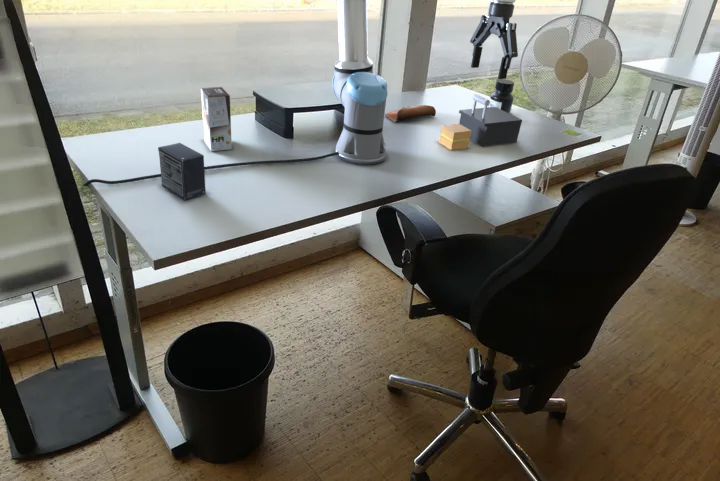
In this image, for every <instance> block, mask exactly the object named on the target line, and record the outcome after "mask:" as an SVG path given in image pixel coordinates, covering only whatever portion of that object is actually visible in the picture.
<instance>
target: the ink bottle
mask: <svg viewBox="0 0 720 481" xmlns="http://www.w3.org/2000/svg"><path fill="white" fill-rule="evenodd" d="M514 86H515V81H514V80H510V79H507V78H506V79H498V78H497V79H496V81H495V86H494V91H492V92H491V93H490V95H489V99H488V100H489V101H490V104H489V105H488V106H487V108H488V107H497V108H499V109H501V110H503V111H505V112H507V113H509V114H511V111H512V107H513V102H514V99H515V98H514V95H513V90H514Z"/></svg>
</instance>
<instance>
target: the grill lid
mask: <svg viewBox="0 0 720 481" xmlns="http://www.w3.org/2000/svg"><path fill="white" fill-rule="evenodd" d="M472 100H473V103H472V108H468V109H467V108H466V109H459V110H458V113H459V114H460V115H461V114H462V115H464V116H466V117H468V118H470V119H472V120H473V121H475V122H477V123H479V124H481V125H483V126H485V127H486V126H495V125H504V124H514V123H521V124H522V122H523V119H521V118H519V117H517V116H515V115H513V114H511V113H510V114H509V113H507V112H505V111H503V110H501V109H499V108H497V107H488V105H489V104H490V101H489V100H490V99H488V98H486V97H484V96H481V95H479V94H477V93H475V94H473V96H472ZM477 103H479V104H481V105H484V106H483V107H477V108H476V106H477Z"/></svg>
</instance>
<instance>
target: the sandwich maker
mask: <svg viewBox="0 0 720 481" xmlns="http://www.w3.org/2000/svg"><path fill="white" fill-rule="evenodd" d="M458 122H459V123H458V124H461V125H462V126H464V127H466V128H468V129H469V130H471V136H470V138H469V141H472V142H474V143H476V144H478V145H479V146H481V147H492V146H498V145H506V144H507V145H508V144H515V143H517V142H518V138H519V135H520V131H521V126H522V123H514V124H504V125H495V126H486V127H485V126H483V125H481V124H479V123H477V122H475V121H473V120H472V119H470V118H468V117H466V116H464V115H462V114H460V118H459V121H458Z"/></svg>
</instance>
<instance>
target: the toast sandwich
mask: <svg viewBox="0 0 720 481" xmlns="http://www.w3.org/2000/svg"><path fill="white" fill-rule="evenodd" d="M470 136H471V130H469V129H468V128H466V127H464V126H462V125H461V124H459V123H450V124H441V127H440V134H439V138H438V143H439V144H440V145H442V146H443V147H445V148H446V149H448V150H450V151H456V150H464V149H469V145H470V139H469V138H470Z"/></svg>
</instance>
